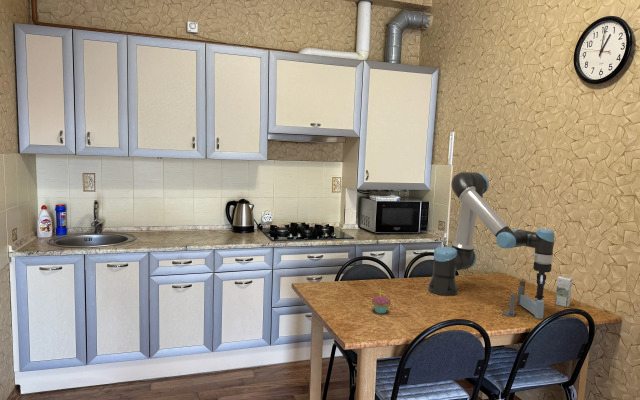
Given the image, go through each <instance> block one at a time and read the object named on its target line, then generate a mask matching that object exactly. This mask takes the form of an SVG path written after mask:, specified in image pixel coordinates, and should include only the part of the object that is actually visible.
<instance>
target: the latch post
mask: <svg viewBox="0 0 640 400" xmlns="http://www.w3.org/2000/svg"><path fill="white" fill-rule="evenodd" d="M515 301H516V293H513V292H511V293H510V301H509V311H507V310H502V313H501V315H502V316H506V317H511V318H514V317H515V312H514V311H515V303H516V302H515Z"/></svg>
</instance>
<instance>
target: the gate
mask: <svg viewBox="0 0 640 400" xmlns="http://www.w3.org/2000/svg"><path fill="white" fill-rule="evenodd" d="M525 291H526V286H525V287H524V286H520V285H518V288H517V297H516V298H517V299H516V305H517V306H521V307H523V308H524V309H526V310H527V311H529V312H530V313H531V314H532V315H534V318H535V319H538V320H539V319H542V320H543V319H544V309H545V301H544V300H543V299H542V300H536V299H535V300H534V299H533V298H531V297H530V296H528V295H527V294H525V293H526V292H525Z"/></svg>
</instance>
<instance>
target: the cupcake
mask: <svg viewBox="0 0 640 400" xmlns="http://www.w3.org/2000/svg"><path fill="white" fill-rule="evenodd" d="M371 304H372V305H373V307H374V311H375V313H377V314H386V313H387V310H388V308H389V307H390V306H391V300H390V299H389V298H388V297H387V296H384V295H382V288H381V287H379V295H377V296H374V297H373V298H372V299H371Z"/></svg>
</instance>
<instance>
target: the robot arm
mask: <svg viewBox="0 0 640 400" xmlns="http://www.w3.org/2000/svg"><path fill="white" fill-rule="evenodd" d="M450 185H451V189H452V191H453V193H454V195H455V196H456V197H457V198H458V199H459V201H461V205H460V210H459V211H460V212H459V217H458V223H457V229H456V235H455V241H453V242H452V243H451V246H445V247H444V246H440V247H437V248H435V250H434V253H433V263H432V265H433V266H432V275H431V278H430V281H429V283H428V286H427V287H428V288H427V290H428V291H429V292H430V293H432V294H434V295H435V294H436V295H440V296H446V297H447V296H448V297H449V296H456V295H457V294H458V286H457V281H456V272H459V271H463V270H468V269H470V268H472V267H474V265H475V264H476V262H477V254H476V251H475V249H474V248H475V247H474V245H473V238H474V232H475V226H476V220H477V217H478V219H480V220H481V222H482V223H483V224H484V225H485V226H486V228H488V230H489V231H490V232H491V233H492V234H493V235H494V236H495V238H496V239H495V241H496V244H497V246H498V247H499V248H501V249H507V250H508V249H513V248H520V247H527V248H532V249H533V248H534V254H533V255H532V256H533V260H534V261H533V266H532V267H533V268H532V269H533V270H534V271H536V272H538V273H536V292H535V293H536V295H535V296H534V298H535V301H536V300H543V298H545V295H544V288H545V285H546V279H547V274H546V273H550V272H552V265H553V264H552V263H553V257H554V244H555V232H554V230H551V229H549V228H548V229H545V228H538V229H537V230H536V231H531V230H530V231H529V230H525V229H521V228H520V229H518V228H514V229H511V228H510V227H509V225H508V224H506V222H505V221H504V220H503V219H502V218H501V217H500V216H499V215H498V214H497V212H496V211H495V210H494V209H493V208H492V207H491V206H490V205H489V204H488V203H487V202H486V201H485V199H484V198H483V196H484V194H486V192H488V191H489V187H490V184H489V179H488V178H487V176H486V175H485V174H484V173H480V172H477V171H476V172H475V171H474V172H472V171H471V172H469V171H468V172H465V171H463V172H459V173H456V174H455V175H454V176H453V177H452V180H451V184H450Z"/></svg>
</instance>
